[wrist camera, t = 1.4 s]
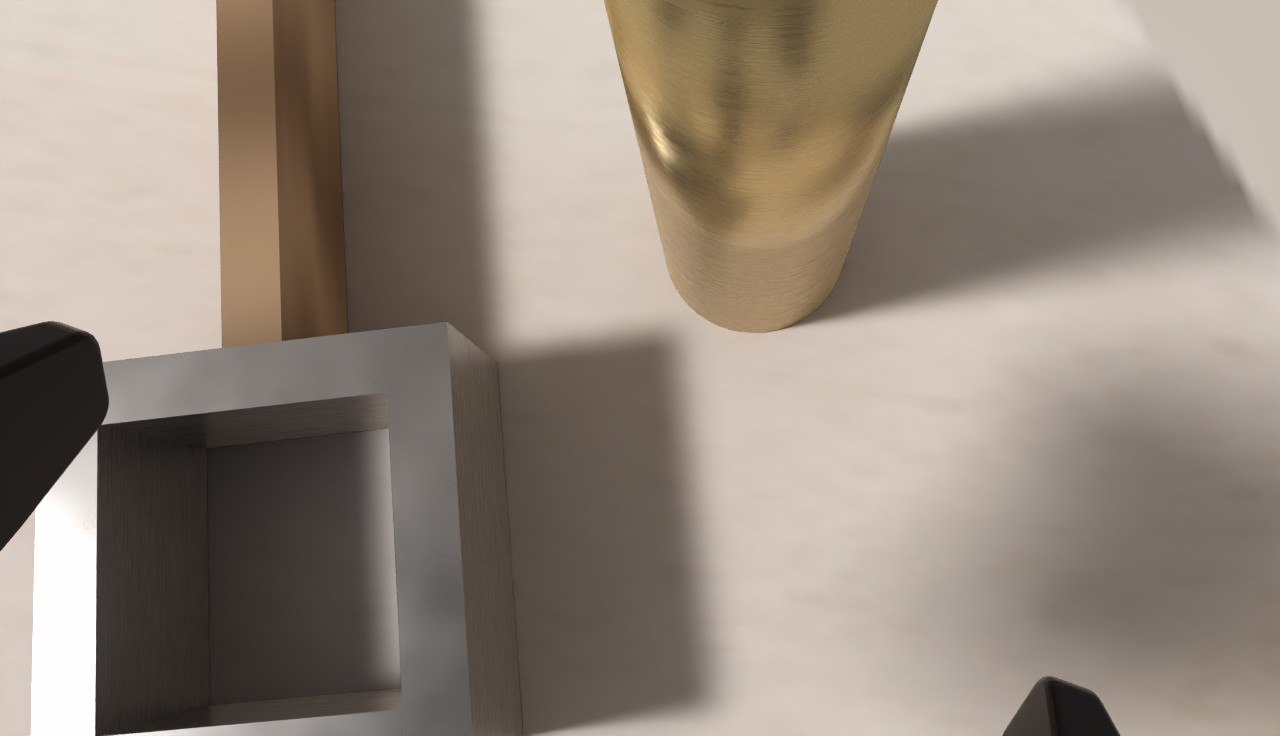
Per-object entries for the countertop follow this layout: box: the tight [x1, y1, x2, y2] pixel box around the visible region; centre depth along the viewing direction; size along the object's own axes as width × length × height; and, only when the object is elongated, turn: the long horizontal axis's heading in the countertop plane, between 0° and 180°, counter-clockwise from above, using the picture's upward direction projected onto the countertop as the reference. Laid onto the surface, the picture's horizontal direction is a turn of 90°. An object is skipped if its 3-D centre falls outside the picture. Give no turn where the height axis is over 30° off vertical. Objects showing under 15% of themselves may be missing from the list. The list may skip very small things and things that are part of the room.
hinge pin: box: [604, 0, 938, 333], centre depth 16 cm, size 4×4×14 cm
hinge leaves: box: [216, 0, 348, 348], centre depth 21 cm, size 30×1×4 cm, turn 5°
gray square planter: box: [31, 322, 523, 736], centre depth 20 cm, size 8×8×4 cm
